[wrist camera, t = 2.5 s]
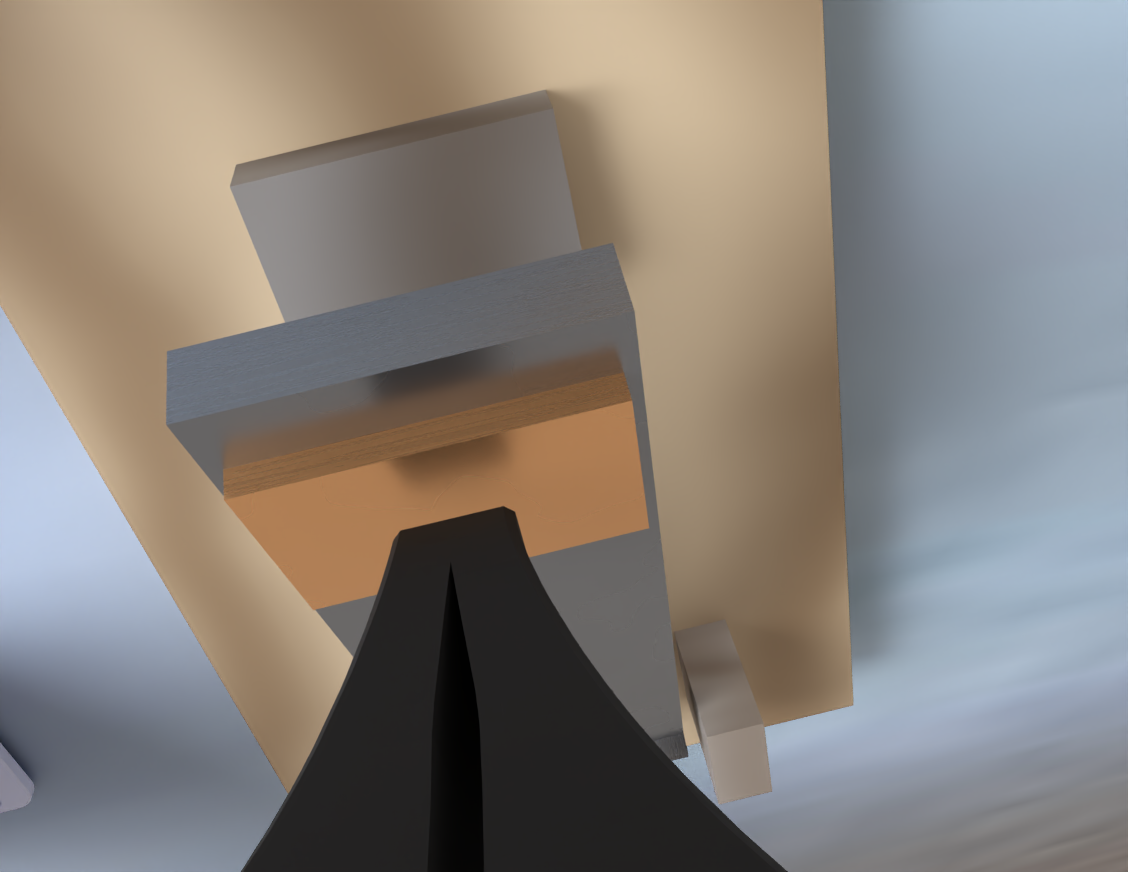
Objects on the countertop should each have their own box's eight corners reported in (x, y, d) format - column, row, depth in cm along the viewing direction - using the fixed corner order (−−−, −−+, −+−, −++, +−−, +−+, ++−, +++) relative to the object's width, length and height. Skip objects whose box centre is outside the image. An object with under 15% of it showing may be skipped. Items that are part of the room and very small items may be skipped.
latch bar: (464, 748, 25) (475, 822, 24) (167, 331, 12) (165, 456, 11) (671, 698, 25) (690, 769, 24) (607, 223, 12) (643, 339, 11)
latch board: (317, 771, 28) (307, 952, 24) (-183, -137, 15) (-381, -71, 11) (826, 646, 28) (900, 807, 24) (760, -366, 15) (897, -380, 11)
